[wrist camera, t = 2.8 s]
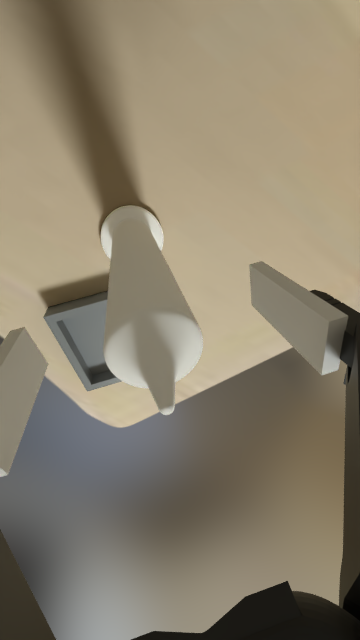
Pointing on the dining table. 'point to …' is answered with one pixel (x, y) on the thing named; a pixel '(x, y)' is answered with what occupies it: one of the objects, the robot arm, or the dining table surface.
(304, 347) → the robot arm
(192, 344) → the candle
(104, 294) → the tray
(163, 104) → the dining table surface
